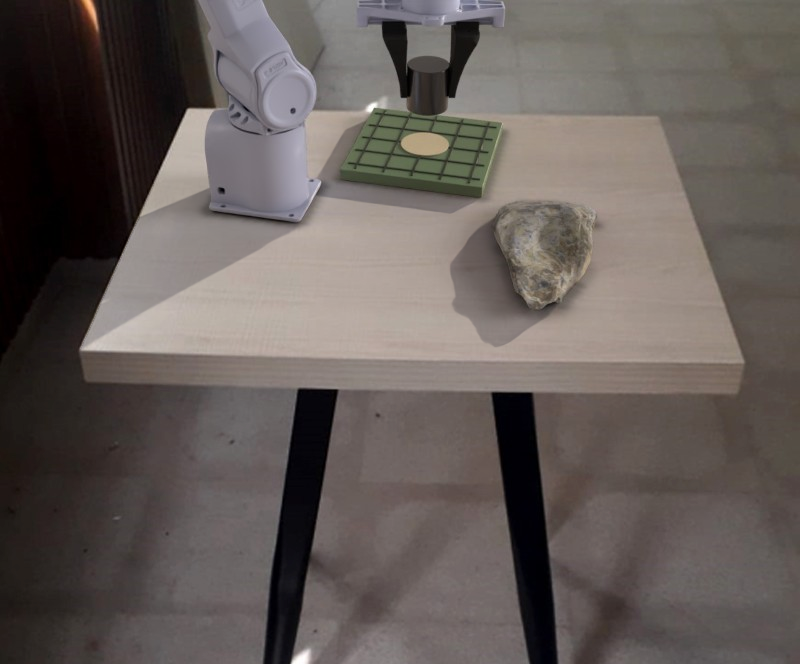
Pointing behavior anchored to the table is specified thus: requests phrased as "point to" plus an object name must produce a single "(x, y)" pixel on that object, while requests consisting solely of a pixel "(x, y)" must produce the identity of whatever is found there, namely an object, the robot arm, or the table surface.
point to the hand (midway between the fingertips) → (427, 94)
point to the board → (423, 152)
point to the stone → (545, 247)
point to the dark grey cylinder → (427, 85)
